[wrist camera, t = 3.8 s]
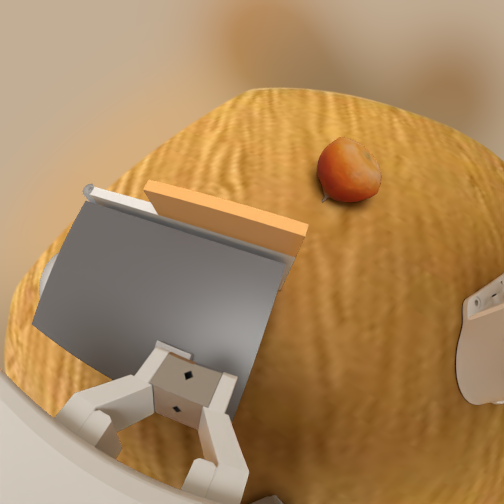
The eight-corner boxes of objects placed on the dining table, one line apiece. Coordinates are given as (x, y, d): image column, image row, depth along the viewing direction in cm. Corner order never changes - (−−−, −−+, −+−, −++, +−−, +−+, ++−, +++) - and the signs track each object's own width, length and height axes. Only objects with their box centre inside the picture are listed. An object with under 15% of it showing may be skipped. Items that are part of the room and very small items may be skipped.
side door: (283, 281, 28) (309, 221, 16) (279, 292, 28) (304, 239, 15) (126, 229, 30) (69, 159, 18) (121, 238, 30) (61, 171, 17)
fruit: (291, 159, 33) (333, 118, 27) (332, 173, 37) (371, 140, 31) (311, 215, 30) (364, 175, 24) (352, 222, 34) (399, 191, 28)
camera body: (273, 294, 28) (287, 260, 18) (236, 403, 24) (227, 434, 14) (111, 237, 30) (65, 191, 20) (73, 327, 26) (11, 309, 16)
